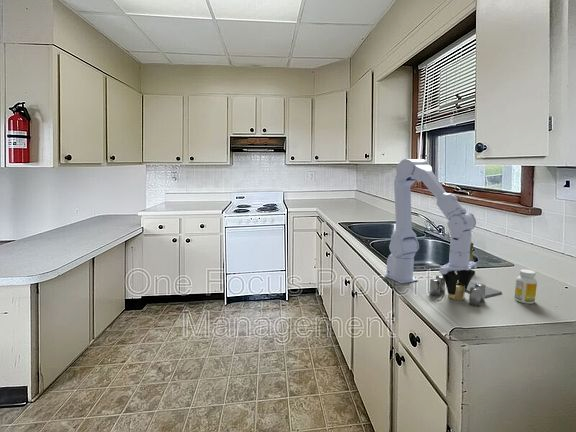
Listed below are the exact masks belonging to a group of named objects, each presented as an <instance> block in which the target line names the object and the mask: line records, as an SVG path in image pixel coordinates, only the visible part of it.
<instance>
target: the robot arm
mask: <svg viewBox="0 0 576 432" xmlns="http://www.w3.org/2000/svg"><path fill="white" fill-rule="evenodd" d="M395 169H396V175H395V176H394V177H395V178H394V182H393V184H394V187H393V188H394V208H395V211H394V212H395V231H394V232H393V233H392V234H391V235H390V242H389V247H388V249H389V251H390V254H389V255H388V257H387V258H386V274H384V277H386V278H388V279H390V280H392V281H395V282H398V283H400V284H408V283H412V282H417V281H419V278H417V277H414V265H415V263H414V262H415V256H416V253H418V251H419V249H420V244H419V241H418V239H417V233H416V232H415V231H414V230H413V225H412V224H413V223H412V222H413V221H412V202H411V201H412V197H411V194H412V193H411V187H412V186H413V185H414V184H415V183H416V181H418V182H421V183H423V184H424V185H425V186H426V188H427V189H428V190H429V191H430V193H431V194H432V196H434V197H435V198H436V206H437V207H438V209H439V210H440V211H441V213H442V214H443V215H444V217H445V218H446V220H447V227H448V229H449V231H450V244H449V254H448V255H449V256H448V257H449V258H448V259H449V260H448V263H446V264H444V265H441V266H439V271H438V272H439V273H440V275H442V276H443V277H444V280H445V287H446V290H447V294H448V293H449V294H452V295H454V294H455V291H456V285H457V282H460V283H463V284H465V293H467V292H466V289H467V287H468V284H469V282H470V281H471V280H472V279H473V277H474V276H475V275H476V271H475V270H474V269H477V267H478V263H477V262H475V261H473V262H472V261H470V262H469V257H470V244H471V242H472V241H471V240H472V230H473V229H475V227H476V225H477V220H476V218H475V217H476V216H474V214H473V213H471V212H468V211H467V210H466V208H464V207H463V206H462V204H461V203H460V202H459V201H458V197H457V196H456V195H454V194H453V193H447V192H446V190H445V188H444V187H443V186H442V184H441V183H440V181H439V180H438V178H437V176H436V175H435V173H434V172H433V166H431V165H430V163H429V162H428V161H427V160H426V159H424V158H420V159H419V158H418V159H414V158H413V159H411V158H410V159H409V158H404V159H402V160H400V161H399V163H397V164H396V168H395ZM471 268H472V269H471Z"/></svg>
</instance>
